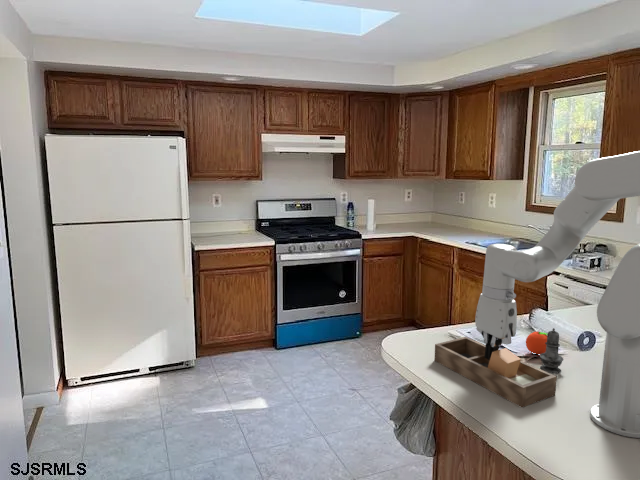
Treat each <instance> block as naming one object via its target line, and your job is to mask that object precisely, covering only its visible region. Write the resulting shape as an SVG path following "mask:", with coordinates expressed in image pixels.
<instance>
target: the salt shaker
mask: <svg viewBox="0 0 640 480" xmlns="http://www.w3.org/2000/svg"><path fill="white" fill-rule="evenodd" d="M559 341H560V334H559V332H557V331H556V329H555V327H552V329H551V330H550V331H548V332H547V342H546V343H545V344H546V352H545V353H542V354H540V355H539V357H540V361H541V363H542V365H540V367H539V369H541V370H543V371H546V372H548V373H550V374H552V375H555V374H556V375H557V374H558V375H559V374H560V373H561V372H562V369H561V368H560V366H561V365H562V363H563V362H564V357H562V356H561V355H559V347H560V346H561V344H560V343H559Z"/></svg>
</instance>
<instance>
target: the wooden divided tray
mask: <svg viewBox="0 0 640 480" xmlns="http://www.w3.org/2000/svg"><path fill="white" fill-rule="evenodd" d="M485 347H486V344H485V343H484V344H483V343H481V342H479V341H476V340H474V339H472V338H470V337H467V336H464V337H458V338H455V339H450V340H447V341H444V342H438V343H435V344H434V362H436V363H438V364H440V365H442V366H444V367H446V368H448V369H449V370H451V371H453V372H454V373H457V374H458V375H459V376H462V377H464V378H466V379H468V380H470V381H472V382H474V383H475V384H477V385H479V386H481V387H483V388H484V389H486V390H489V391H490V392H493V394H496V395H497V396H499V397H501V398H503V399H504V400H507V401H509V402H511V403H512V404H514V405H516V406H518V407H520V408H524V407H528V406H531V405H533V404H536V403H538V402H541V401H544V400H546V399H550V398H552V397H555V396H556V389H557V379H558V378H557V375H555V374H552V373H548V372H546V371H543V370H541V369H540V367H536V366H535V365H532V364H529V363H527V362H524V361H523V360H521V361H520V364H519V367H518V370H517V373H516V375H515V376H512V377H509V378H507V377H505V376H503V375H501V374H499V373H497V372H495V371H493V370H491V369H489V368H488V365H489V361H490V360H488V359H486V358H485Z"/></svg>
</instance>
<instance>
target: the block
mask: <svg viewBox="0 0 640 480" xmlns="http://www.w3.org/2000/svg"><path fill="white" fill-rule="evenodd" d="M520 361H522V358H520V357H519V356H517V355H516V354H514V353H513V352H512V351H510V349H508V348H507V347H505V348H500V349H499V350H497V351H494V352H492V355H491V358H490V361H489V365H488V368H489V369H491V370H493V371H495V372H497V373H499V374H501V375H503V376H505V377H507V378H509V377H512V376H515V375H516V373H517V370H518V367H519V364H520Z"/></svg>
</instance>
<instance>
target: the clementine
mask: <svg viewBox="0 0 640 480" xmlns="http://www.w3.org/2000/svg"><path fill="white" fill-rule="evenodd" d="M547 334H548V332H547V333H546V332H543V331H533V332H531V333H529V334H528V335H527V337H526V338H525V339H526V340H525V346H526V348H527V350H528V351H529V352H530V351H531V352H533V353H536V354H542V353H545V352H546V344H545V343H546V342H547ZM531 352H530V353H531Z"/></svg>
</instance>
